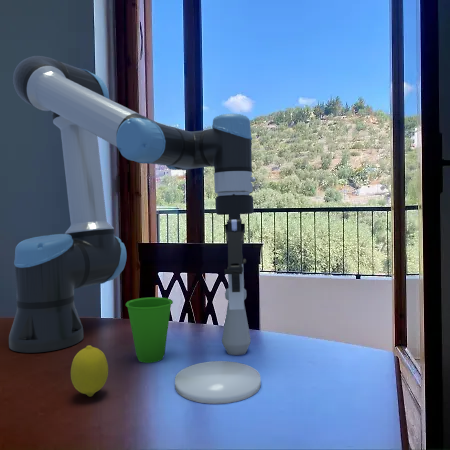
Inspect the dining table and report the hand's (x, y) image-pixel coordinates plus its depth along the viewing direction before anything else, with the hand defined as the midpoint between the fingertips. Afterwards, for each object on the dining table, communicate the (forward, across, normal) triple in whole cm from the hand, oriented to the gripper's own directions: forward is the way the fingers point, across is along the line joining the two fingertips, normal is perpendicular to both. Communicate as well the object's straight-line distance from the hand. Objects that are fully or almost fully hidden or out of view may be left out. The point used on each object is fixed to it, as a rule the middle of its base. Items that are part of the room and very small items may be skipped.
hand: (237, 301), depth 83 cm
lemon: (+10, -20, +23) cm, 32 cm away
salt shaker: (+10, 0, 0) cm, 11 cm away
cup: (+10, -3, +17) cm, 20 cm away
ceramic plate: (+10, -15, +3) cm, 19 cm away
